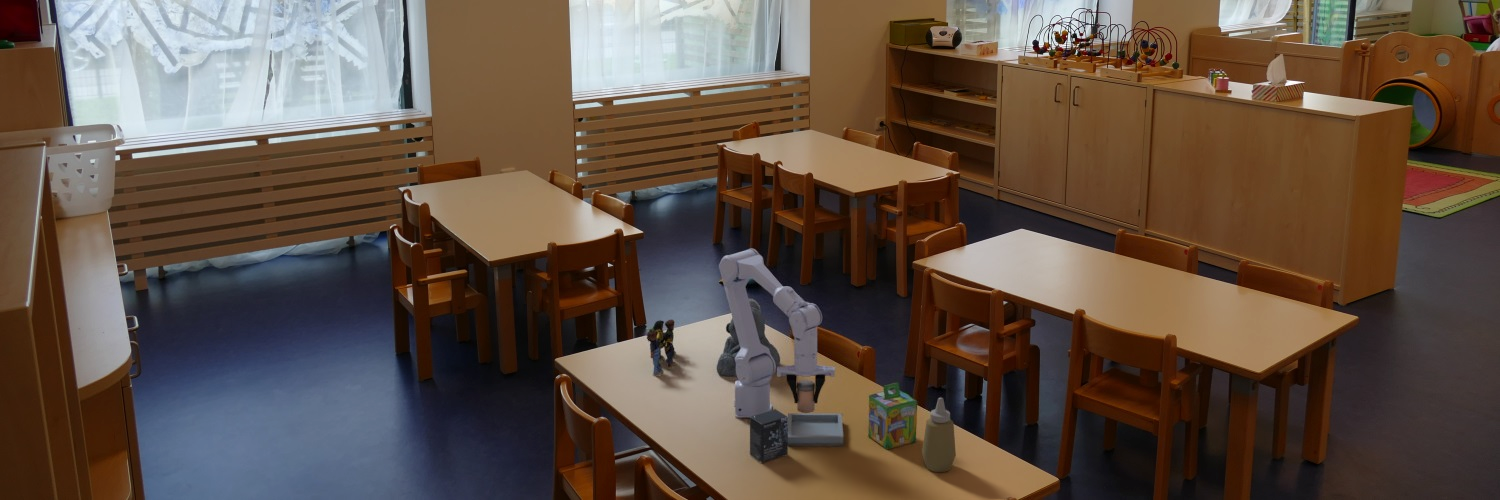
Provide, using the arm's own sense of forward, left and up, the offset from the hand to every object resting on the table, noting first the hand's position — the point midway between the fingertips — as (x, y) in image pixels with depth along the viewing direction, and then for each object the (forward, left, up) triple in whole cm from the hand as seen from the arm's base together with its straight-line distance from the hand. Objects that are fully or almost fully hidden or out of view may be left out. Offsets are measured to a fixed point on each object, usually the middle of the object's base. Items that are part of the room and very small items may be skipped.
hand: (805, 401), depth 298 cm
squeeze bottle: (+32, -18, -9) cm, 38 cm away
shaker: (0, 0, -2) cm, 2 cm away
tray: (+2, 0, -9) cm, 9 cm away
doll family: (-42, +46, -9) cm, 63 cm away
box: (-9, -12, -9) cm, 18 cm away
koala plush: (-16, +44, -9) cm, 48 cm away
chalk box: (+22, -3, -9) cm, 24 cm away
